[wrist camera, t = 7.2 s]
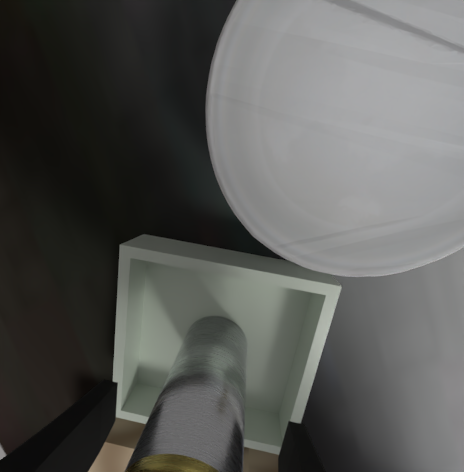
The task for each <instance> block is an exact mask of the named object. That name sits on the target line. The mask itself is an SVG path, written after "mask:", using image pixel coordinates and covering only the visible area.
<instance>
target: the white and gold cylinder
mask: <svg viewBox="0 0 464 472" xmlns="http://www.w3.org/2000/svg"><path fill="white" fill-rule="evenodd" d="M246 370H247V339H246V336H245V334H244V332H243V330H242V329H241V328H240V327H239V326H238V325H237V324H236V323H235V322H233V321H232V320H230V319H228V318H225V317H221V316H207V317H204V318H201V319H199V320H197V321H196V322H194V323H193V324H192V325H191V327H190V328H189V330H188V332H187V334H186V336H185V339H184V341H183V343H182V345H181V347H180V350H179V352H178V354H177V356H176V359H175V361H174V363H173V365H172V367H171V370H170V372H169V374H168V376H167V378H166V381H165V383H164V385H163V387H162V389H161V392H160V394H159V396H158V398H157V401H156V403H155V405H154V407H153V409H152V412H151V414H150V416H149V418H148V420H147V423H146V425H145V427H144V429H143V431H142V434H141V436H140V438H139V440H138V443H137V445H136V447H135V449H134V451H133V454H132V456H131V458H130V460H129V462H128V465H127V467H126V469H125V471H124V472H243V455H244V426H245V398H246Z"/></svg>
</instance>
